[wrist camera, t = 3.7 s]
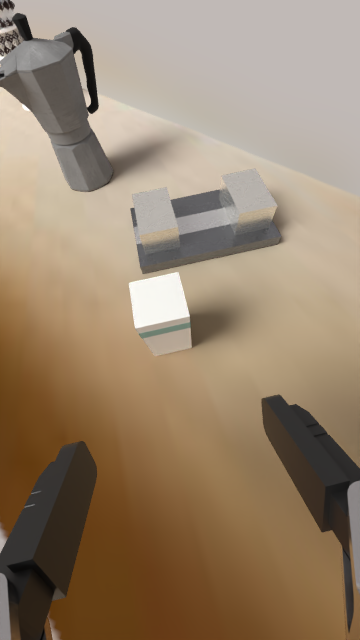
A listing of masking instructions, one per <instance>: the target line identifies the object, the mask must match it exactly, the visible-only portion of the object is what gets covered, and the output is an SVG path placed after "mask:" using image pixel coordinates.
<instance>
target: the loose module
mask: <svg viewBox="0 0 360 640" xmlns="http://www.w3.org/2000/svg"><path fill="white" fill-rule="evenodd" d="M129 287H130V294H131V302H132V309H133V317H134V324H135V329H136V331H137V332H138V333H139V335H140V337H141V338H142V339H143V340H144V342H145V343H146V344H147V346H148V347H149V349H150V350H151V351H152V353H153V354H154V356H159V355H163V354H167V353H172V352H176V351H181V350H185V349H189V348H192V344H191V323H190V315H189V311H188V307H187V304H186V300H185V296H184V292H183V288H182V284H181V281H180V277H179V273H178V272H176V273H172V274H167V275H162V276H158V277H153V278H149V279H144V280H140V281H135V282H131V283H129Z"/></svg>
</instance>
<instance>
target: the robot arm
mask: <svg viewBox="0 0 360 640" xmlns="http://www.w3.org/2000/svg"><path fill="white" fill-rule="evenodd" d="M262 414H263V425H264V429H265V432H266V434H267V437H268V439H269V440H270V442H271V444H272V446H273V447H274V449H275V451H276V453H277V454H278V456H279V458H280V460H281V461H282V463H283V465H284V467H285V469H286V470H287V472H288V474H289V476H290V477H291V479H292V481H293V483H294V484H295V486H296V488H297V490H298V491H299V493H300V495H301V497H302V498H303V500H304V502H305V504H306V505H307V507H308V509H309V511H310V512H311V514H312V516H313V518H314V519H315V521H316V523H317V525H318V526H319V528H320V530H321V532H326V531H330V530H333V532H334V533H335V535H336V537H337V538H338V540H339V542H340V543H341V545H340V548H341V564H342V581H343V598H344V614H345V633H346V640H360V468H359V467H358V466H357V465H356V464H355V463H354V462H353V461H352V460H351V458H350V457H349V456H348V455H347V454H346V453H345V452H344V451H343V450H342V448H341V447H340V446H339V445H338V444H337V443H336V442H335V441H334V440H333V438H332V437H331V436H330V435H328V434H327V432H326V431H325V430H324V428H323V427H322V426H321V425H319V423H318V422H317V421H316V420H315V418H314V417H313V416H312V415H311V414H310V413H309V412H308V411H306V410H305V409H303V408H301V407H300V406H298V405H297V404H294V405H290V406H289V405H288V404H287V402H286V401H285V400H284V399H283V398H282V396H280V395H274V396H270V397H266V398H262ZM96 478H97V468H96V464H95V462H94V460H93V458H92V456H91V454H90V452H89V450H88V448H87V446H86V444H85V442H83V441H80V442H76V443H72V444H68V445H64V446H63V447H62V448H61V450H60V452H59V454H58V456H57V458H56V460H55V462H51V463H50V464H49V465H48V467H47V468H46V469H45V470H44V472H43V473H42V474H41V475H40V476H39V478H38V480H37V482H36V484H35V486H34V488H33V490H32V492H31V493H32V494H31V495H30V496H29V498H28V500H27V502H26V504H25V508H24V509H23V510H22V512H21V514H20V516H19V518H18V520H17V522H16V524H15V526H14V528H13V530H12V532H11V534H10V536H9V538H8V540H7V541H6V543H5V545H4V547H3V549H2V551H1V553H0V640H53V639H52V634H51V628H50V623H49V619H48V617H47V615H48V612H49V609H50V605H51V602H52V600H56V599H60V598H64V597H66V595H67V591H68V587H69V583H70V579H71V575H72V572H73V568H74V564H75V560H76V556H77V552H78V548H79V545H80V541H81V537H82V533H83V529H84V525H85V521H86V517H87V514H88V510H89V506H90V502H91V498H92V494H93V490H94V486H95V483H96Z"/></svg>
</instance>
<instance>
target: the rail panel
mask: <svg viewBox="0 0 360 640" xmlns="http://www.w3.org/2000/svg"><path fill="white" fill-rule="evenodd" d="M132 197H133V203H134V208H130V209H131V214H132V220H133V226H134V232H135V238H136V244H137V250H138V256H139V262H140V267H141V270H142V273H143V274H145V273H149V272H154V271H158V270H163V269H167V268H172V267H177V266H181V265H186V264H190V263H195V262H199V261H204V260H208V259H213V258H218V257H222V256H227V255H231V254H236V253H240V252H245V251H249V250H254V249H259V248H263V247H268V246H272V245H277V244H278V242H279V240H280V238H281V235H280V233H279V231H278V229H277V228H276V226H275V224H274V222H273V221H272V219H273V216H274V214H275V211H276V209H277V206H278V205H277V204H276V202H275V200H274V199H273V197H272V195H271V194H270V192H269V190H268V189H267V187H266V185H265V184H264V182H263V180H262V179H261V177H260V175H259V174H258V172H257V171H256V169H250V170H246V171H241V172H236V173H231V174H227V175H222V176H221V184H220V190H215V191H211V192H206V193H201V194H197V195H192V196H187V197H182V198H178V199H173V200H170V197H169V194H168V190H167V187H165V188H160V189H155V190H151V191H146V192H141V193H136V194H132Z"/></svg>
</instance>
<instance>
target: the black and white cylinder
mask: <svg viewBox="0 0 360 640" xmlns="http://www.w3.org/2000/svg"><path fill="white" fill-rule="evenodd" d="M14 6H15V5H14V3H13V2H12V1H10V0H0V60H2V59H3V58H4V57H5V56H6V55H7V54H9V53H10V52H11V51H12V50H13V49H15V48H16V47H17V46H18V45H19V44H21V43H22V42H23V41H24V39H23V37H22V35H21V34H20V32H19V30H18V29H17V27H16V25H15V23H14V22H13V20H12V17H13V16H14V13H13V9H14ZM0 65H1V64H0ZM22 107H23V108H24V109H25V110H26V111H30V110H29V109H28V108H27V107H26V106H25V105H23V104H22Z"/></svg>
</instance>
